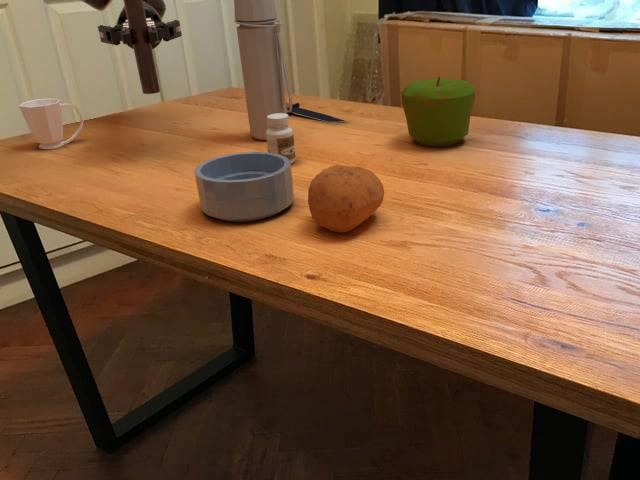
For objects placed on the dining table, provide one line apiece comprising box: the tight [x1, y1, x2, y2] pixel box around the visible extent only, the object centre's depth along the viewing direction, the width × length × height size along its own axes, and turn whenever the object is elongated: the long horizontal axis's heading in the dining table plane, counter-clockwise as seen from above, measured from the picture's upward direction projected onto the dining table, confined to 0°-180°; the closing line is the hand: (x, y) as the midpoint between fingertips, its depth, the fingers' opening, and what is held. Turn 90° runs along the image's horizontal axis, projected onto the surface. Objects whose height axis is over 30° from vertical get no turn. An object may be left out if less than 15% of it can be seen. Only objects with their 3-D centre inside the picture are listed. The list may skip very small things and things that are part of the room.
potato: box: [307, 164, 385, 233], centre depth 85 cm, size 9×11×8 cm
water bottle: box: [233, 0, 293, 141], centre depth 118 cm, size 9×8×25 cm
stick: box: [123, 0, 161, 95], centre depth 106 cm, size 3×3×16 cm
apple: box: [400, 75, 476, 148], centre depth 115 cm, size 12×12×11 cm
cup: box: [18, 97, 84, 150], centre depth 123 cm, size 7×10×8 cm
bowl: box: [193, 151, 295, 223], centre depth 91 cm, size 13×13×6 cm
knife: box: [286, 102, 346, 123], centre depth 138 cm, size 26×3×5 cm
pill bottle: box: [266, 113, 297, 165], centre depth 108 cm, size 4×4×8 cm
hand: (140, 38), depth 103 cm, fingers closed on stick, 2 cm apart
